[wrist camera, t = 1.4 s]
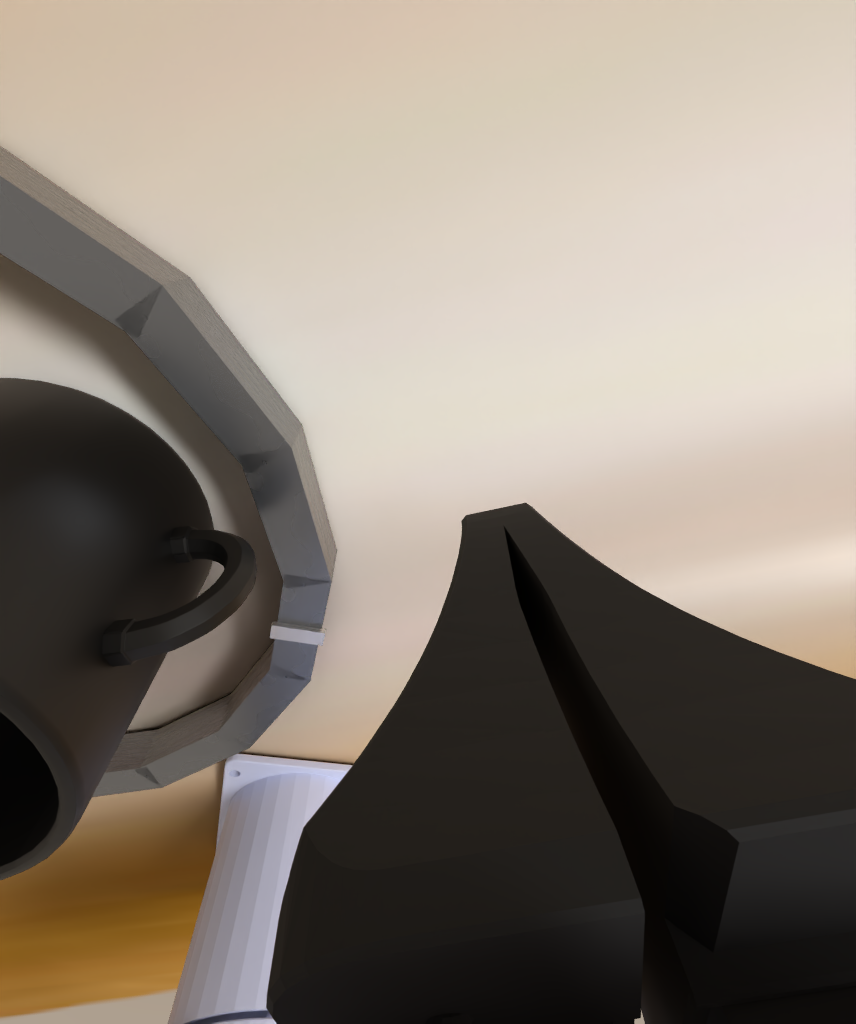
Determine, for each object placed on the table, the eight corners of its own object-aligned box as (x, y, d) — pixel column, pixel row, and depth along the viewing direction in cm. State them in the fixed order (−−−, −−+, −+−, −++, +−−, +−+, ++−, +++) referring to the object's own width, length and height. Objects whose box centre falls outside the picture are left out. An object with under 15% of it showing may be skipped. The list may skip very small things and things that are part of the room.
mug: (317, 597, 19) (265, 858, 11) (7, 632, 19) (-262, 918, 11) (248, 345, 14) (73, 498, 6) (-168, 392, 14) (-850, 603, 6)
